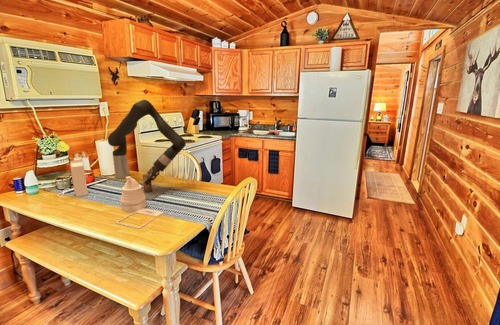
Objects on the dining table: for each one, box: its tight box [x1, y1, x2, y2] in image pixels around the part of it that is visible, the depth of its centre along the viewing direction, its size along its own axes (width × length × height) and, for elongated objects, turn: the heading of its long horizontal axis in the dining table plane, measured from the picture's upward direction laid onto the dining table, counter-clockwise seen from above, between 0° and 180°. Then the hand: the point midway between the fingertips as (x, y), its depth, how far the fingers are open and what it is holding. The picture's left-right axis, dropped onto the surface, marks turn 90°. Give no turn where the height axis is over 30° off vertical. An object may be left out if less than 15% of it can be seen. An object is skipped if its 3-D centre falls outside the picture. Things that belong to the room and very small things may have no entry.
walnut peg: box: [142, 173, 153, 193], centre depth 163 cm, size 5×5×11 cm
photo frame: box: [114, 207, 165, 229], centre depth 130 cm, size 15×1×18 cm
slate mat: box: [141, 185, 171, 201], centre depth 164 cm, size 22×18×1 cm
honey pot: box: [119, 175, 147, 213], centre depth 141 cm, size 13×13×18 cm
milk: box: [69, 159, 89, 198], centre depth 157 cm, size 6×6×22 cm
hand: (145, 181), depth 162 cm, fingers open, 8 cm apart
